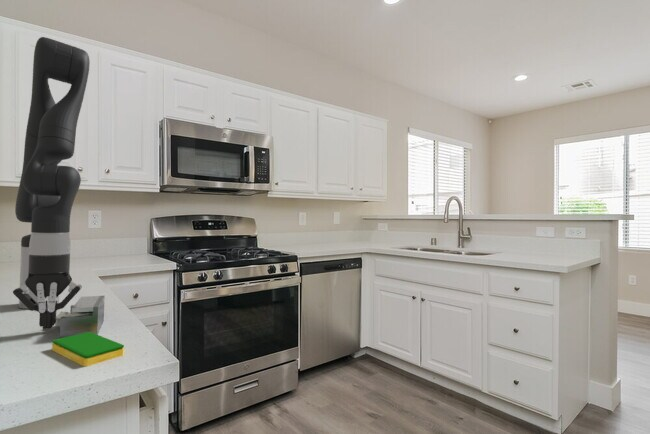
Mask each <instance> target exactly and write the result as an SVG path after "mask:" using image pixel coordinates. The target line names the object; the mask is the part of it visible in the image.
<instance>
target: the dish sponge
mask: <svg viewBox="0 0 650 434" xmlns="http://www.w3.org/2000/svg"><path fill="white" fill-rule="evenodd" d="M51 341H52V344H51V351H53V352H55V353H57V354H59V355H61V356H63V357H65V358H67V359H69V360H70V361H73V362H75V363H76V364H78V365H80V366H82V367H89V366H92V365H96V364H100V363H103V362H106V361H109V360H112V359H116V358H120V357H122V356H124V355H125V354H124V353H125V345H124V344H122V343H121V342H120V343H119V342H116V341H114V340H112V339H109V338H108V337H104V336H102V335H100V334H98V335H97V334H94V333H92V332H87V333H82V334H78V335H73V336H69V337H64V338H60V337H59V338H56V339H52V340H51Z"/></svg>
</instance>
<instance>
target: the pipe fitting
mask: <svg viewBox="0 0 650 434" xmlns="http://www.w3.org/2000/svg"><path fill="white" fill-rule="evenodd" d="M82 315H93V313H86V314H82V313H70V312H68V311H60V312H59V313H58V314H56V323H55V324H54V326H55V327H56V328H60V318H61V317H68V316H82Z"/></svg>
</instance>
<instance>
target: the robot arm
mask: <svg viewBox="0 0 650 434" xmlns="http://www.w3.org/2000/svg"><path fill="white" fill-rule="evenodd" d="M90 63H91V62H90V56H89V54H88V52H87V51H86V50H84V49H82V48H80V47H77V46H74V45H71V44H68V43H65V42H61V41H59V40H56V39H52V38H49V37H45V36H41V37H39V38H38V39H37V40H36V43H35V47H34V52H33V63H32V66H33V67H32V83H31V100H30V106H29V113H28V119H27V125H26V131H25V138H24V139H25V140H24V151H23V160H22V161H23V163H22V170H21V177H20V181H19V186H18V191H17V195H16V200H15V207H14V208H15V210H14V211H15V216H16V219H17V220H18V221H19V222H22V223H28V224H29V223H30V224H31V225H30V226H31V229H30V232H31V233H30V234H27V235H24V236H22V237H21V241H20V263H19V264H20V266H19V268H20V269H19V271H20V272H19V287H17V288H14V290H13V291H12V293H13V294H12V295H14V296H15V297H16V298H17V299H18V307H19V308H20V309H27V310H29V311H30V312H32V311H34V312H38V313H39V322H38V323H39V324H38V325H39V327H42V330H48V329H52V327H53V326H55V323H56V316H57V311H58V310H61V309H64V308H65V307H66V306H67V305H68V303H69V302H70V301H71V300H73V298H74V297H75V296H76V295H77V294H78V292H80V291H81V289H82V287H83V286H82V285H81V284H77V283H76V282H74V281H73V280H72V277H71V275H70V268H71V267H70V264H71V237H70V233H71V232H70V230H71V229H70V226H71V225H70V224H71V213H72V208H73V205H74V201H75V200H76V196H77V194H78V191H79V189H80V186H81V182H82V180H81V179H82V178H81V174H80V173H79V171H78V169H76V168H75V167H74V166H70V165H59V164H60V163H61V162H63V161H65V160H69V159H72V157H74V153H75V145H76V133H77V126H78V121H79V116H80V113H81V109H82V105H83V101H84V98H85V97H84V96H85V93H86V87H87V83H88V78H89V75H90ZM49 79H52V80H54V81H58V82H61V83H66V84H69V85H70V88H69V90H68V92H67V93H66V94H65V95H64V96H63V97H62V98H61V99H60V100H59V101H58V102H55V100H54V97H53V95H52V92H51V90H50V85H49ZM67 288H68V289H67ZM66 289H67V291H68V294H67V295H66V296H65V297H64V299H62V300H61V301H60V295H61V294H62V293H64V291H65V290H66Z"/></svg>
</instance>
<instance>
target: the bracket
mask: <svg viewBox="0 0 650 434" xmlns="http://www.w3.org/2000/svg"><path fill="white" fill-rule="evenodd" d="M69 313H82V314H86V313H93V315H82V316H68V317H61V318H60V327H59V339H60V338H64V337H69V336H73V335H78V334H82V333H87V332H92V333H94V334H97V335H99V332H100V330H101V328H102V325H103V323H104V321H105V295H92V296H91V295H89V296H81V297H80V298H79V299H78V300H77V301H76V302H75V304H73V305H72V304H71V305H70V312H69Z"/></svg>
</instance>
